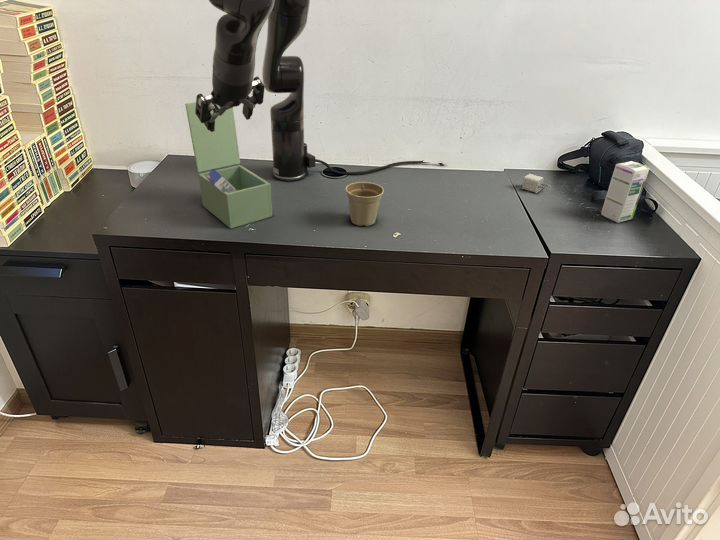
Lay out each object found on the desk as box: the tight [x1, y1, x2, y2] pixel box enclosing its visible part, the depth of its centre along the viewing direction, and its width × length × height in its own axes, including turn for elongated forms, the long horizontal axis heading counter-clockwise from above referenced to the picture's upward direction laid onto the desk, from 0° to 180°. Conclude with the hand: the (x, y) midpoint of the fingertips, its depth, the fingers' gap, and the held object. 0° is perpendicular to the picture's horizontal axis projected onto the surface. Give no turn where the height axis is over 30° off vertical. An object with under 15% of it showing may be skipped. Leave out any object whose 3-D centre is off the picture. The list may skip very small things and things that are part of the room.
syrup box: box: [600, 160, 651, 224], centre depth 130 cm, size 6×6×14 cm
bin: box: [197, 164, 273, 229], centre depth 126 cm, size 16×12×9 cm
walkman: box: [206, 169, 237, 193], centre depth 123 cm, size 8×3×12 cm
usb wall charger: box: [521, 173, 551, 194], centre depth 146 cm, size 4×7×4 cm, turn 49°
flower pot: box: [344, 181, 385, 227], centre depth 124 cm, size 9×9×9 cm
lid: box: [184, 101, 241, 173], centre depth 127 cm, size 16×12×6 cm
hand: (228, 122), depth 108 cm, fingers open, 8 cm apart
